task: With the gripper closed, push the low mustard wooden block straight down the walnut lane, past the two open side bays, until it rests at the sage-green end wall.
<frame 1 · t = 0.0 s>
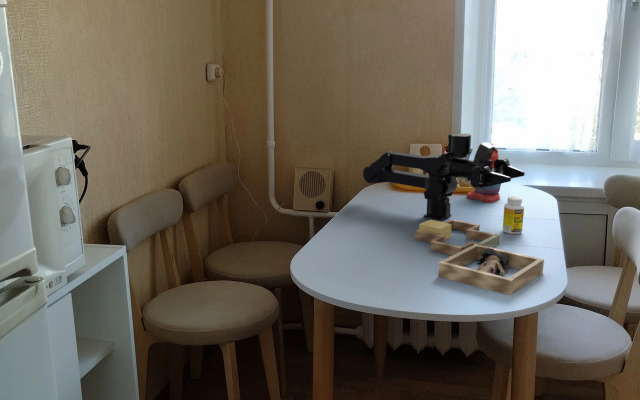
hand: (517, 176, 193), 17 cm above the table, tool horizontal, fingers open, 9 cm apart
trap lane: (456, 241, 189), on the table
stacking bear: (485, 198, 235), on the table
supplement bottle: (512, 232, 198), on the table
toy figure: (490, 275, 164), on the table
block: (434, 237, 193), on the table
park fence: (490, 274, 164), on the table
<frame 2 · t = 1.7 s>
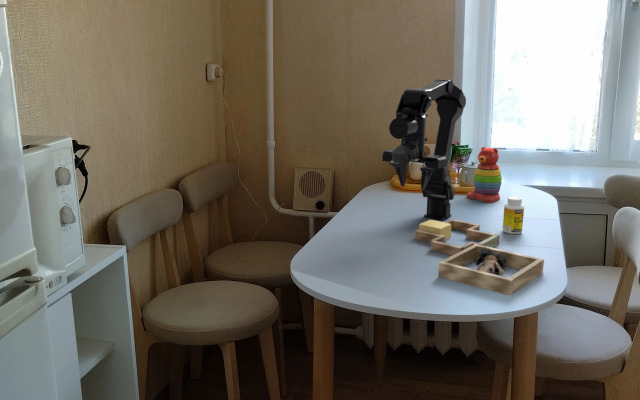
hand: (412, 188, 195), 13 cm above the table, tool pointing down, fingers open, 6 cm apart
nothing on the table moved.
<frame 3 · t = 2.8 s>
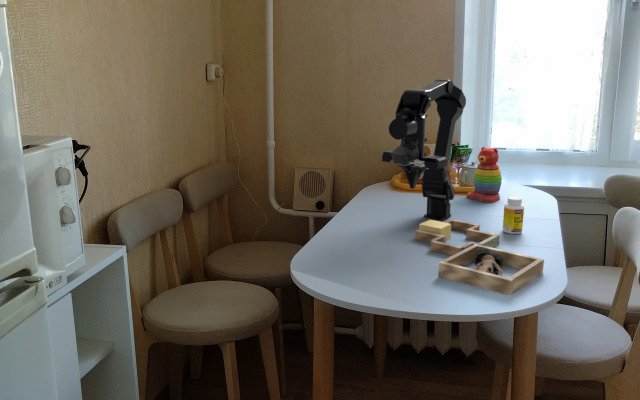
hand: (412, 188, 195), 13 cm above the table, tool pointing down, fingers closed
nothing on the table moved.
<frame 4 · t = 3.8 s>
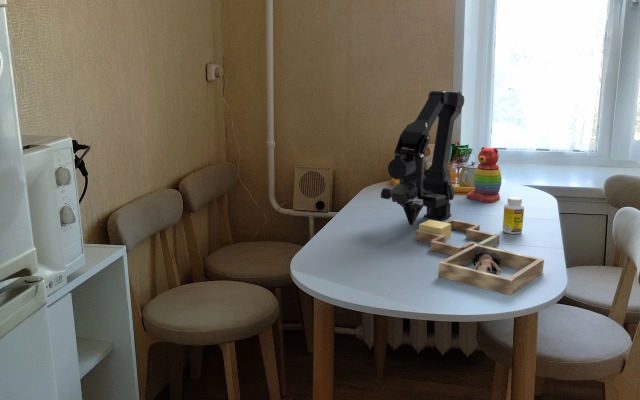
hand: (411, 225, 198), 2 cm above the table, tool pointing down, fingers closed
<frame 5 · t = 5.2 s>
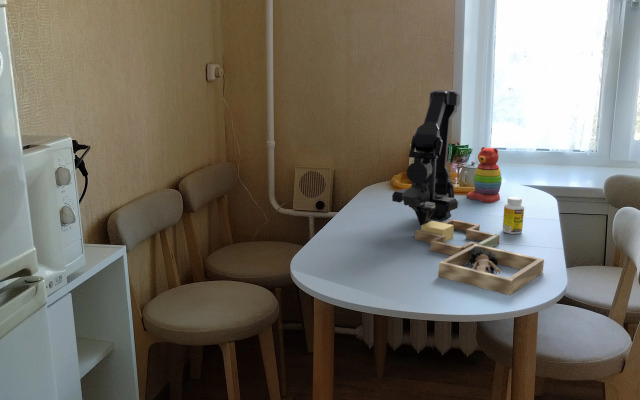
hand: (423, 228, 195), 2 cm above the table, tool pointing down, fingers closed
block: (436, 238, 192), on the table, touching gripper
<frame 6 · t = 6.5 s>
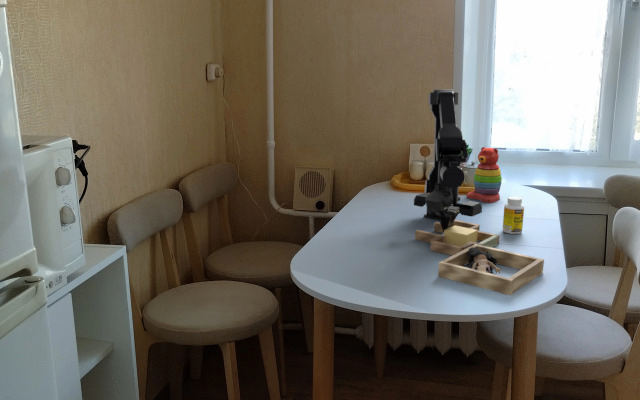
hand: (445, 233, 190), 2 cm above the table, tool pointing down, fingers closed
block: (460, 243, 188), on the table, touching gripper
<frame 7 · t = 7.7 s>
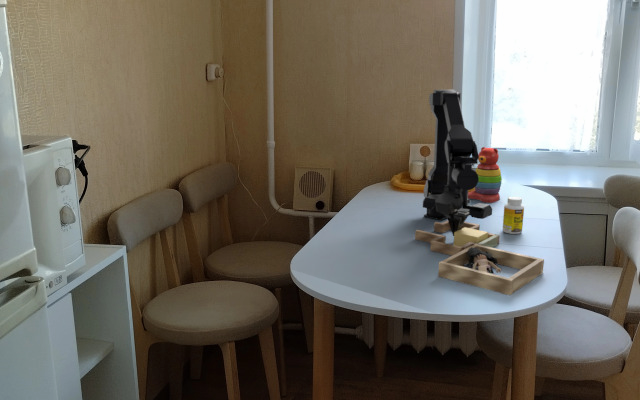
hand: (455, 235, 189), 2 cm above the table, tool pointing down, fingers closed
block: (470, 246, 186), on the table
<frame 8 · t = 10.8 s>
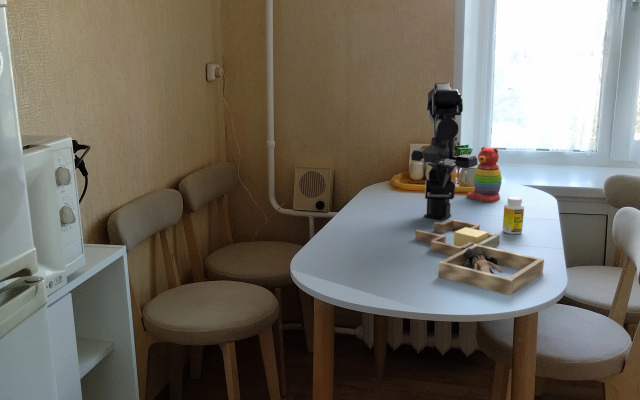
hand: (442, 187, 196), 13 cm above the table, tool pointing down, fingers closed
at the end: block inside the target area on the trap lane (0.8 cm from its centre), point 0.0 cm above the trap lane's base; block tilted 0°; block moved 11.5 cm from its start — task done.
